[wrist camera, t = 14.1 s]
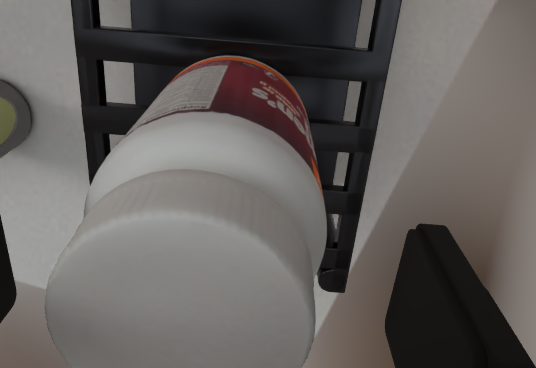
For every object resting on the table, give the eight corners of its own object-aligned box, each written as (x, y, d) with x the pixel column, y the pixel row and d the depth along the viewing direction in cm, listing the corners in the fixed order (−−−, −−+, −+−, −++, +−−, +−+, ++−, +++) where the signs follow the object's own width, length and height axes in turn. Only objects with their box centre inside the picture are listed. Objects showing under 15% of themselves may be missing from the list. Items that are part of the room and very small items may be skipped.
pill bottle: (334, 150, 19) (403, 371, 9) (214, 218, 21) (156, 470, 10) (254, 18, 17) (225, 114, 7) (125, 105, 18) (-58, 289, 8)
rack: (361, -67, 25) (418, -82, 15) (323, 190, 32) (344, 293, 22) (142, -87, 25) (57, -115, 15) (152, 177, 32) (98, 276, 22)
